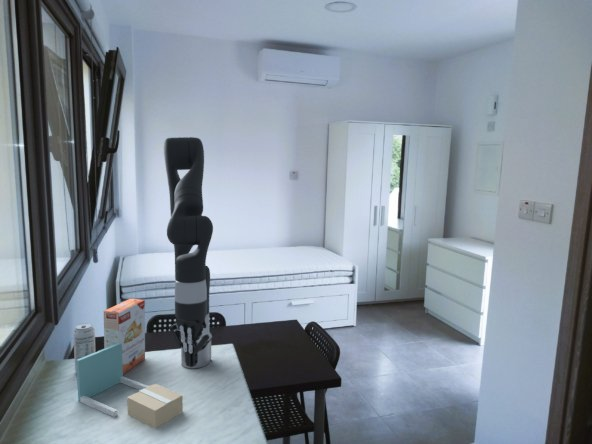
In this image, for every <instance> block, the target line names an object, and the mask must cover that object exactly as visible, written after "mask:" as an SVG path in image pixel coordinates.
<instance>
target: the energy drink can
mask: <svg viewBox="0 0 592 444" xmlns="http://www.w3.org/2000/svg"><path fill="white" fill-rule="evenodd" d="M72 335H73V337H72V338H73V353H74V355H73V356H74V372H75V373H77V361H76V360H78V359H80V358H82V357H85V356H87V355H90V354H92V353H95V352H96V332H95V328H94V326H93V324H92V323H90V322H89V323H88V322H86V323H80V324H77V325H76V326H75V327H74V330H73V333H72Z"/></svg>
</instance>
